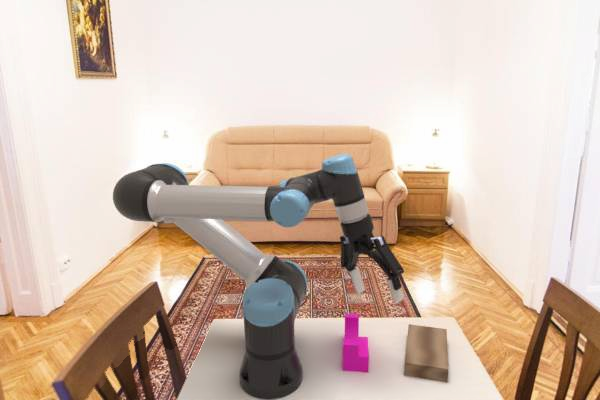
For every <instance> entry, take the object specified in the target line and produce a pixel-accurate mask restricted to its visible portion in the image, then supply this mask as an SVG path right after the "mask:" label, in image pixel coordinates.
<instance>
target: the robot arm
mask: <svg viewBox="0 0 600 400" xmlns="http://www.w3.org/2000/svg"><path fill="white" fill-rule="evenodd" d="M329 200H331V201H332V202H333V204H334V208H335V211H336V215H337V218H338V221H339V222H340V228H341V230H342V235H340V236H339V240H340V247H341V248H340V266H341V268H343V269H344V268H345V269H346V271H348V273H349V274H348V275H349V278H350V279H351V282H352V285H353V288H354V291H355V294H356V295H359V294H361V293H363V292H364V291H366V288H365V287H366V286H365V283H364V280H363V277H362V274H361V271H360V267H359V266H358V264H357V263H358V260H359V257H360V255H362V254H363V255H364V256H365V255H366V256H367V257H368V258H370V259H372V260H373V261H374V262H375V263H376V264H377V265H378V267H379V268H380V269H381V270H382V271H383V272H384V273H385V275H386V276H387V278H386V281H387V285H388V287H389V292H390V294H391V298H392V302H393V304H395V305H398V303H400V302H402V301H403V300H404V299H405V297H404V295H403V294H404V293H403V291H402V283H401V279H400V276H401V275H402V274H404V273H405V269H404V267H402V265H401V263H400V262H399V260H398V259H397V257H396V256H395V254H394V253H393V251H392V250H391V248H390V247H389V246H388V244H387V241H386V238H385V236H384V235H379V236H377V237H375V236H374V232H373V231H374V229H375V226H374V223H373V220H372V216H371V214H369V213H370V210H369V207H368V203H367V200H366V196H365V194H364V190H363V186H362V183H361V179H360V176H359V172H358V169H357V167H356V164H355V162H354V158H353V157H352V155H351V154H350V153H342V154H341V153H340V154H338V155H334V156H332V157H328V158H325V159H324V160H323V161H322V162H321V169H319V170H317V171H313V172H309V173H307V174H302V175H298V176H296V177H290V178H288V179H286V180H282V181H280V183H278V185H277V186H262V185H261V186H258V185H257V186H256V185H255V186H253V185H252V186H250V185H249V186H248V185H207V184H206V185H205V184H204V185H203V184H202V185H201V184H200V185H193V184H191V185H190V184H189V182H188V177H187V175H186V173H185V172H184V171H183V170H182V169H181V168H180V167H178V166H177V165H174V164H171V163H167V162H163V163H154V164H150V165H148V166H147V167H144V168H142V169H139V170H135V171H132V172H129V173H127V174H125V175H124V176H122V177H121V178H120V179H119V180H118V181H117V182H116V183H115V186H114V188H113V192H112V202H113V204H114V207H115V208H116V209H115V210H117V211H118V213H119V214H120V215H121V216H122V217H125V218H126V219H129V220H130V221H135V222H148V223H149V222H151V223H153V222H154V223H160V222H163V223H164V224H175V225H176V226H177V227H178V228H179V229H181V230H182V231H183V232H184V233H186V234H187V235H188V236H189V237H191V238H192V239H193V240H194V241H196V242H197V243H198V244H199V245H201V247H203V248H205V250H207V251H208V252H209V253H210V254H212V255H213V256H214V257H215V258H216V259H217V260H219V261H220V262H222V264H224V265H225V266H226V267H227V268H229V269H230V270H231V271H232V272H234V274H236V275H237V276H238V277H240V278H241V279H242V280H243V281H244V282H245V292H244V293H243V296H242V297H243V298H242V313H243V314H242V315H243V325H244V327H243V328H244V343H245V352H244V356H243V359H242V362H241V365H240V369H239V382H240V386H241V387H242V389H243V390H244V391H245V392H246V393H247V394H249V395H250V396H253V397H255V398H259V399H270V400H271V399H278V398H282V397H285V396H288V395H290V394H291V393H293V392H295V391H296V390H297V389H298V388H299V387H300V385H301V384H302V382H303V373H304V372H303V370H304V369H303V365H302V362H301V359H300V357H299V354H298V353H297V350H296V346H295V345H296V343H295V341H296V340H295V339H296V338H295V321H296V318H297V316H298V313H299V311H300V308H301V305H302V303H303V301H304V300H305V298H306V295H307V290H308V277H307V275H306V272H305V271H304V270H303V268H302V267H301V266H300V265H299V264H297V263H296V262H294V261H291V260H284V259H283V260H282V259H280V257H278V256H277V255H276V254H265V253H264V252H263V251H262V250H260V249H259V248H258V247H257V246H256V245H254V244H253V243H252V242H251V241H249V240H248V239H247V238H246V237H245V236H243V235H242V234H241V233H239V232H238V231H237V230H235V229H234V227H232V226H231V225H229V224H228V223H227V222H226V221H225V220H229V221H254V222H255V221H256V222H259V221H260V222H265V221H266V222H274V223H275V224H277V225H279V226H281V227H284V228H293V227H296V226H298V225H300V224H301V223H302V222H303V220H305V219H306V218H307V217H308V216H309V215H308V214H310V210H311V209H312V208H313V206H314V205H315V204H318V203H322V202H328V201H329Z"/></svg>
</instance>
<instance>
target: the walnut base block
mask: <svg viewBox="0 0 600 400" xmlns="http://www.w3.org/2000/svg"><path fill="white" fill-rule="evenodd" d="M448 349H449V348H448V333H447V329H446V328H442V327H441V328H439V327H434V326H433V327H432V326H426V325H417V324H412V323H411V324H410V323H409V324H408V329H407V336H406V345H405V355H404V365H403V366H404V369H403V375H404V376H406V377H410V378H411V377H412V378H418V379H423V380H431V381H437V382H442V383H448V381H449V380H448V379H449V355H448V354H449V353H448V352H449V351H448Z"/></svg>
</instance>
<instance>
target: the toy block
mask: <svg viewBox="0 0 600 400" xmlns="http://www.w3.org/2000/svg"><path fill="white" fill-rule="evenodd" d="M359 315H360V314H358V313H344V333H343V334H344V335H343V337H344V338H342V372H357V373H369V369H370V368H369V364H370V363H369V362H370V360H369V359H370V353H369V349H370V348H369V337H367V336H359V335H360V334H359V332H360V331H359V328H360V327H359V324H360V323H359V322H360V316H359Z"/></svg>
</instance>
